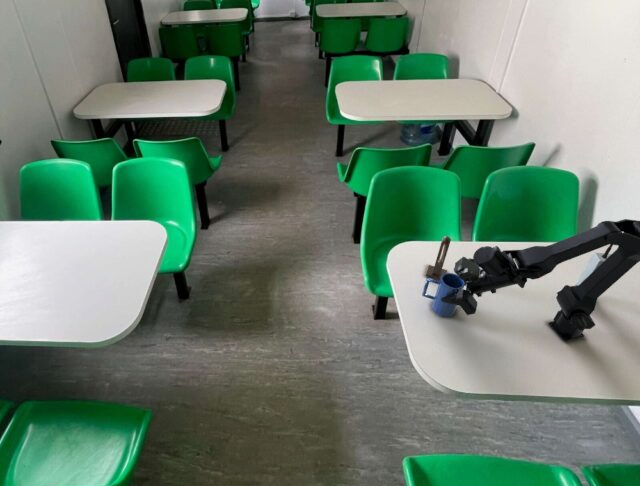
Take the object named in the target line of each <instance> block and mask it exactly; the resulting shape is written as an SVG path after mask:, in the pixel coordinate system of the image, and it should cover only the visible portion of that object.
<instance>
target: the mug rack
mask: <svg viewBox="0 0 640 486" xmlns="http://www.w3.org/2000/svg"><path fill="white" fill-rule="evenodd" d="M451 241H452V239H451V237H449V236H447V235H445V236H443V237H442V239H441V242H440V245H439V248H438V253H437V256H436V260H435V262H434V265H431V264H428V266H427V269H426V273H425V277H427V278H430V279H433V280H437V281H440V279H441V276H442V275H443V274H445V273H448V269H445V268H444V269H443V267H444V263H445V260H446V258H447V254H448V251H449V248H450V245H451Z"/></svg>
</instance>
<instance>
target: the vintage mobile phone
mask: <svg viewBox="0 0 640 486" xmlns="http://www.w3.org/2000/svg"><path fill="white" fill-rule="evenodd" d="M613 246H614V245H611V244H609V245H608V247H607V248H606V249H605V251H604V253H602V252H593V253H592V255H591V257H590V258H589V260H588V261H587V263H586V265H585V267H584V269H583V271H582V272H581V274H580V275H579V277H578V279H577V281H576V282H575V284H574V286H576V285H579V284H581V283H582V282H583V281H584V280H585V279H586V278H587V277H588V276H589V275H590V274H591V273H592V272H593V271H594V270H596V269H597V268H598V267H599V266H600V265H601V264H602V263H603V262H604V261H605V260H606V259H607V258H608V257H609V256H610V255H611V254H612V253H610V252H611V250H612V248H613Z"/></svg>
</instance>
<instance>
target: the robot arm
mask: <svg viewBox="0 0 640 486" xmlns="http://www.w3.org/2000/svg"><path fill="white" fill-rule="evenodd" d="M610 244H611V245H613V246H618V247H617V248H616V249H615V250H614V251H613V252H612V253H610V254H611V255H610V256H609V257H608V258H607V259H606V260H605V261H604V262H603V263H602V264H601V265H600V266H599V267H598V268H597V269H596V270H594V271H593V272H592V273H591V274H590V275H589V276H588V277H587V278H586V279H585V280H584V281H583V282H582V283H581V284H579V285H576V286H575V285H568V284H565V285H564V286H563V287H562V288H561V290H559V291H557V292H556V294H557V295H556V297H555V298H556V301H557V304H558V305H559V307H560V310H558V311H557V312H556V314H555V316H554V317H553V318H552V321H548V322H547V323H548V325H549V326H550V328H551V329H552V330H553V331H554V332H555V333H556V334H557V335H558V336H559V337H560V338H561V340H563V341H565V342H567V341H568V342H569V341H573V340H577V339H582V338H584V337H585V335H584V333H583V332H584V331H585V330H591V329H592V328H594V327H595V326H596V323H595V321H594V319H593V318H592V317H591V315H592V314H593V313H594V311H595V310H596V306H597V302H598V299H599V297H601V296H602V295H603V294H604V293H605V292H606V291H607V290H609V289H610V288H611V287H612V286H613V285H614V284H615V283H617V282H618V281H619V280H620V279H621V278H622V277H623V276H625V274H627V273H628V272H629V271H630V270H631V269H632V268H634V266H636V265H637V264H638V263H639V262H640V220H638V219H637V220H636V219H630V218H629V219H628V218H624V219H621V220H617V221H613V220H604V221H601V222H599V223H598V224H597V225H596V226H594V227H592V228H589V229H587V230H584V231H581V232H579V233H576V234H574V235H571V236H569V237H565V238H564V239H562V240H559V241H557V242H554V243H552V244H550V245H546V246H545V245H534V246H531V247H527V248H524V249H510V250H509V249H507V250H506V249H505V250H501V248H500V247H499V246H498V245H494V246H493V247H492V246H489V245H487V246H485V245H484V246H481V247H479V248H478V249H477V250H476V251H475V252H473V253H474V254H473V257H472V258H471V257H469V258H467V257H465V256H462V257H461V258H460V259H458V260H457V261H456V262H455V263H454V268H453V272H454V274H456V275H458V277H459V278H461V279H462V280H464V282H465V285H464V287H466V288H463V290H460V291H459V290H458V289H456V291H455V293H453V294H451V295H448V296H445V297H443V298H441V301H442V302H445V303H450V304H454V305H457V307H460V308H461V310H462V311H463V312H464V313H465V315H467V316H472V315H475V314H476V312H477V308H478V303H479V302H478V301H477V300H476V299H475V297H474V295H476V297H477V298H482V296H483V293H488V292H491V294H496V293H497V290H500V289H502V288H507V287H511V286H514V285H517V286H519V287H520V288H521V289H524V288H525V285H526V283H527V282H528V280H529V279H530V280H538V279H540V278H542V277H544V276H547V275H548V274H551V273H552V272H553V271H554V270H555V268H556V267H557V266H559V265H560V264H562V263H564V262H567V261H570V260H572V259H575V258H577V257H580V256H583V255H585V254H588V253H590V252H593V251H596V250H598V249H602V248H604V247H607V246H610Z"/></svg>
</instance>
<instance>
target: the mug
mask: <svg viewBox="0 0 640 486" xmlns="http://www.w3.org/2000/svg"><path fill="white" fill-rule="evenodd" d="M430 283H432V284H436V285H438V286H437V288H436V292H435V295H430V294H428V293H427V292H428V287H429V285H430ZM464 285H465V282H464V280H462V279H461V278H459V277H458V275H457V274H456V273H453V272H447V273H445V274H443V275H442V276H441V279H440V280H437V279H433V278H430V277H427V278H426V279H425V283H424V286H423V289H422V290H423V291H422V293H421V296H422V297H423V298H427V299H430V300H433V301H432V305H431V308H432V310H433V312H434V313H435V314H436V315H438V316H439V317H444V318H450V317H452V316H453V315H455V312H456V310H457V307H458V305H454V304H450V303H445V302H442V301H441V298H443V297H445V296H448V295H451V294H453V293H455V291H456V289H458V290H459V291H460V290H463V289H465V286H464Z"/></svg>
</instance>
